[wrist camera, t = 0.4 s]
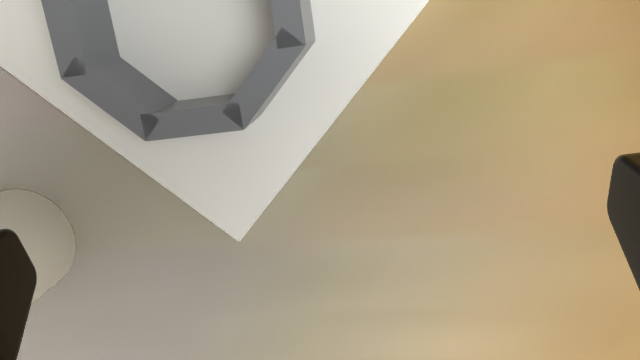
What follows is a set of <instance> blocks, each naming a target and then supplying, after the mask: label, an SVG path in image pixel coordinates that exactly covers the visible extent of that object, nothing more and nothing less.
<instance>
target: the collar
mask: <svg viewBox="0 0 640 360" xmlns="http://www.w3.org/2000/svg"><path fill="white" fill-rule="evenodd" d="M428 1H429V0H0V66H1V67H2V68H4V69H5V70H6V71H8V72H9V73H10V74H12V75H13V76H14V77H16V78H17V79H19V80H20V81H21V82H23V83H24V84H25V85H27V86H28V87H29V88H31V89H32V90H33V91H35V92H36V93H37V94H39V95H40V96H42V97H43V98H44V99H46V100H47V101H48V102H50V103H51V104H52V105H54V106H55V107H56V108H58V109H59V110H61V111H62V112H63V113H65V114H66V115H67V116H69V117H70V118H71V119H73V120H74V121H75V122H77V123H78V124H80V125H81V126H82V127H84V128H85V129H86V130H88V131H89V132H90V133H92V134H93V135H94V136H96V137H97V138H99V139H100V140H101V141H103V142H104V143H105V144H107V145H108V146H109V147H111V148H112V149H113V150H115V151H116V152H117V153H119V154H120V155H122V156H123V157H124V158H126V159H127V160H128V161H130V162H131V163H132V164H134V165H135V166H136V167H138V168H139V169H141V170H142V171H143V172H145V173H146V174H147V175H149V176H150V177H151V178H153V179H154V180H155V181H157V182H158V183H160V184H161V185H162V186H164V187H165V188H166V189H168V190H169V191H170V192H172V193H173V194H174V195H176V196H177V197H179V198H180V199H181V200H183V201H184V202H185V203H187V204H188V205H189V206H191V207H192V208H193V209H195V210H196V211H198V212H199V213H200V214H202V215H203V216H204V217H206V218H207V219H208V220H210V221H211V222H212V223H214V224H215V225H216V226H218V227H219V228H221V229H222V230H223V231H225V232H226V233H227V234H229V235H230V236H231V237H233V238H234V239H235V240H237V241H238V242H240V241H241V239H242V238H243V237H244V236H245V234H246V233H247V232H248V230H249V229H250V228H251V227H252V225H253V224H254V223H255V221H256V220H257V219H258V218H259V216H260V215H261V214H262V213H263V211H264V210H265V209H266V207H267V206H268V205H269V204H270V202H271V201H272V200H273V199H274V197H275V196H276V195H277V193H278V192H279V191H280V190H281V188H282V187H283V186H284V185H285V183H286V182H287V181H288V179H289V178H290V177H291V176H292V174H293V173H294V172H295V171H296V169H297V168H298V167H299V165H300V164H301V163H302V162H303V160H304V159H305V158H306V157H307V155H308V154H309V153H310V151H311V150H312V149H313V148H314V146H315V145H316V144H317V143H318V141H319V140H320V139H321V137H322V136H323V135H324V134H325V132H326V131H327V130H328V129H329V127H330V126H331V125H332V123H333V122H334V121H335V120H336V118H337V117H338V116H339V115H340V113H341V112H342V111H343V109H344V108H345V107H346V106H347V104H348V103H349V102H350V101H351V99H352V98H353V97H354V95H355V94H356V93H357V92H358V90H359V89H360V88H361V87H362V85H363V84H364V83H365V81H366V80H367V79H368V78H369V76H370V75H371V74H372V73H373V71H374V70H375V69H376V67H377V66H378V65H379V64H380V62H381V61H382V60H383V58H384V57H385V56H386V55H387V53H388V52H389V51H390V50H391V48H392V47H393V46H394V44H395V43H396V42H397V41H398V39H399V38H400V37H401V36H402V34H403V33H404V32H405V30H406V29H407V28H408V27H409V25H410V24H411V23H412V22H413V20H414V19H415V18H416V16H417V15H418V14H419V13H420V11H421V10H422V9H423V8H424V6H425V5H426V4H427V2H428Z"/></svg>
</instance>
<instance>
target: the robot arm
mask: <svg viewBox="0 0 640 360" xmlns="http://www.w3.org/2000/svg"><path fill="white" fill-rule="evenodd" d="M607 210H608V215H609V219H610V221H611V224H612V226H613V228H614V231H615V233H616V236H617V238H618V240H619V243H620V245H621V247H622V250H623V252H624V255H625V257H626V259H627V262H628V264H629V266H630V269H631V271H632V274H633V276H634V278H635V281H636V283H637V285H638V288H639V290H640V153H633V154H625V155H620V156H619V157H618V158H616V160H615V162H614V164H613V169H612V175H611V182H610V188H609V194H608V200H607ZM36 283H37V274H36V270H35V267H34V265H33V263H32V261H31V259H30V257H29V256H28V254H27V252H26V250H25V248H24V246H23V245H22V243H21V241H20V239H19V237H18V236H17V234H16V233H15V232H14V231H12V230H10V229H0V360H16V359H17V356H18V352H19V348H20V344H21V341H22V337H23V333H24V329H25V325H26V322H27V318H28V314H29V310H30V306H31V303H32V299H33V295H34V291H35V287H36Z"/></svg>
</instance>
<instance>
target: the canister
mask: <svg viewBox="0 0 640 360" xmlns="http://www.w3.org/2000/svg"><path fill="white" fill-rule="evenodd" d="M0 229H10V230H12V231H14V232H15V233H16V234H17V236H18V237H19V239H20V241H21V243H22V245H23V246H24V248H25V250H26V252H27V254H28V256H29V257H30V259H31V261H32V263H33V265H34V267H35V270H36V274H37V283H36V287H35V291H34V295H33V299H32V303H33V302H35V301H36V300H37V299H38V298H39V297H41V296H42V295H43V294H44V293H45V292H47V291H48V290H49V289H50V288H51V287H52V286H54V285H55V284H56V283H57V282H58V281H60V280H61V279H62V278H63V277H64V276H65V275H66V274H67V273H68V272H69V270H70V268H71V267H72V265H73V262H74V259H75V254H76V241H75V236H74V233H73V229H72V227H71V225H70V223H69V221H68V219H67V218H66V216H65V215H64V214H63V212H62V211H61V210H60V209H59V208H58V207H57V206H56V205H55V204H54V203H52V202H51V201H50V200H48V199H47V198H45V197H43V196H41V195H39V194H37V193H34V192H31V191H27V190H20V189H11V190H5V191H2V192H0ZM32 303H31V304H32Z"/></svg>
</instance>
